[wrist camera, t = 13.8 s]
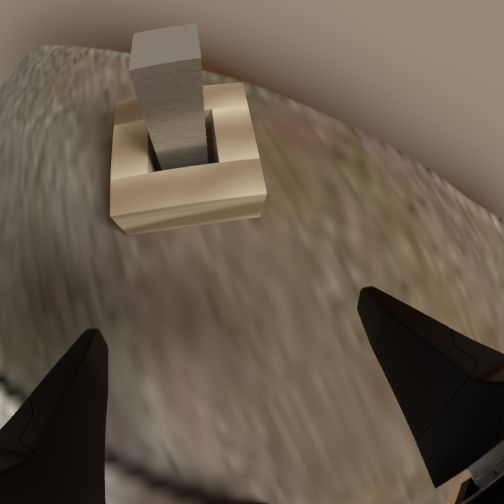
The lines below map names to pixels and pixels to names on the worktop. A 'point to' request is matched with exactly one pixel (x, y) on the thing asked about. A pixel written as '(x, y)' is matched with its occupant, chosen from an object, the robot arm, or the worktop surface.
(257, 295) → the worktop surface
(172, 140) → the square bit
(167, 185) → the socket block
